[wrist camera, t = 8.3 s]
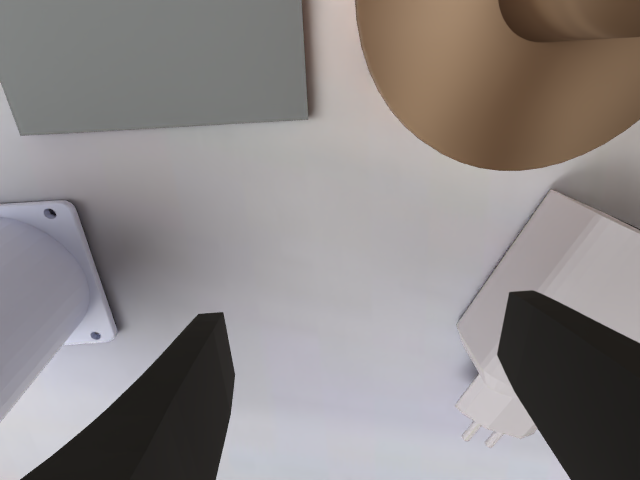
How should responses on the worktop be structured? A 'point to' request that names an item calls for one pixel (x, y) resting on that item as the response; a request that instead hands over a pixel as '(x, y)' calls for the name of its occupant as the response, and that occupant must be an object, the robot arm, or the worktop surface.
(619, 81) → the lid
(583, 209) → the charger
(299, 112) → the mat
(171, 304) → the worktop surface
